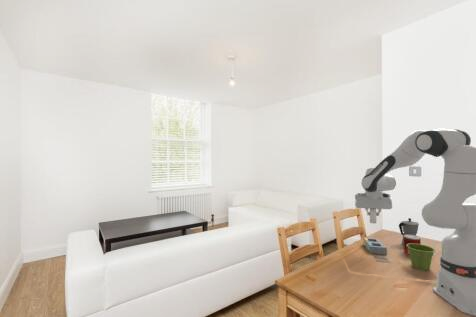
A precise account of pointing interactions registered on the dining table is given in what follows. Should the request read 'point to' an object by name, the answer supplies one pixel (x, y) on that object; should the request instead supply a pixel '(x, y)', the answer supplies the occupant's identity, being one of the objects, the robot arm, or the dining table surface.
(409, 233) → the coffeepot
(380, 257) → the deck
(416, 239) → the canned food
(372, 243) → the socket box
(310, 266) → the dining table surface
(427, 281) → the dining table surface
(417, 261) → the plant pot
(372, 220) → the plug
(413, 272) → the dining table surface
